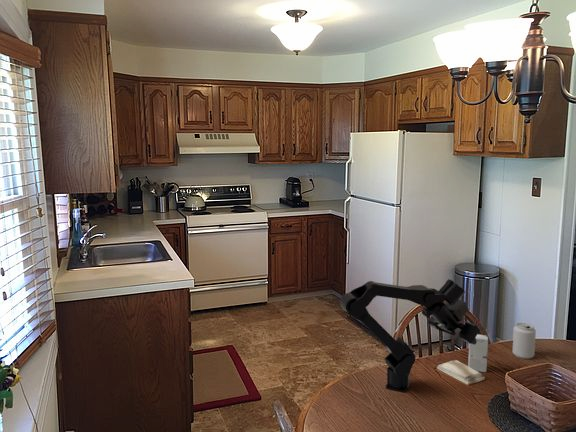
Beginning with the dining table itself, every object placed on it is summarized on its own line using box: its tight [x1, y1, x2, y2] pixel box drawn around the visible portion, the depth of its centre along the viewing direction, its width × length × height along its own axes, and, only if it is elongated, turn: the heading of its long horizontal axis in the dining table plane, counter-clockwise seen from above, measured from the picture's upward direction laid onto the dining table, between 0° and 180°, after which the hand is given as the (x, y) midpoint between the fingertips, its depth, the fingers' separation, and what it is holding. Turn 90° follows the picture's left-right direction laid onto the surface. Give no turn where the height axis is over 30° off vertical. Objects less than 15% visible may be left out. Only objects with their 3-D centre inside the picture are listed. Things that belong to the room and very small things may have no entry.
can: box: [512, 322, 537, 360], centre depth 182 cm, size 8×8×12 cm
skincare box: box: [467, 333, 489, 373], centre depth 172 cm, size 6×4×12 cm
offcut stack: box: [436, 359, 486, 386], centre depth 169 cm, size 8×14×2 cm, turn 27°
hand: (465, 338), depth 168 cm, fingers open, 9 cm apart
